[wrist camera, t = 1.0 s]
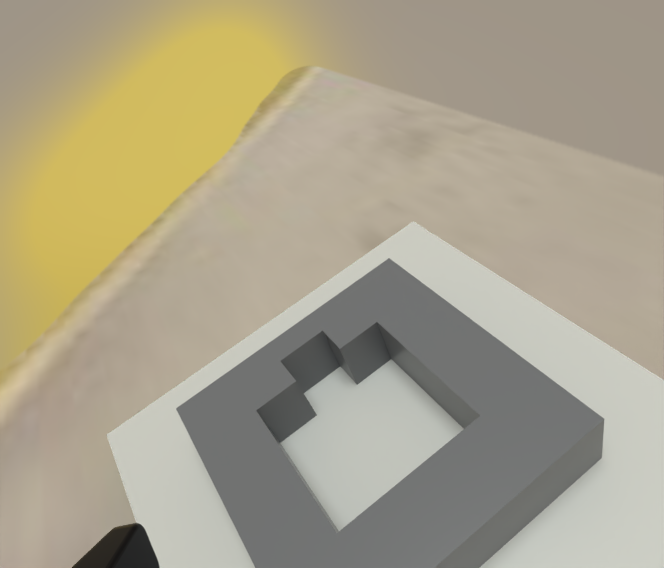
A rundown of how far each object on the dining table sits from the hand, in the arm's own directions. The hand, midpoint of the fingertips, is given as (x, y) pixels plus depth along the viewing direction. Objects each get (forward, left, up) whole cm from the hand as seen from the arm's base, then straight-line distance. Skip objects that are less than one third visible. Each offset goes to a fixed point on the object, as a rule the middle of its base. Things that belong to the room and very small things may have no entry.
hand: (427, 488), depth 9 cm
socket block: (+7, +6, -15) cm, 18 cm away
